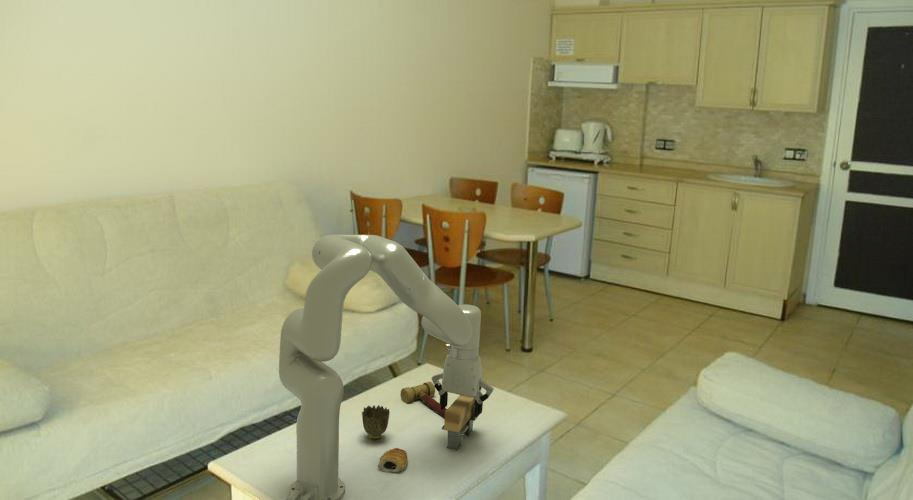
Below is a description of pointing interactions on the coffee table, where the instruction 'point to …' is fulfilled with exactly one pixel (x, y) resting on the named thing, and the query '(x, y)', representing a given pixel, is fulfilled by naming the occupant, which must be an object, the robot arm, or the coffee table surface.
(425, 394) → the gavel
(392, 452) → the pastry
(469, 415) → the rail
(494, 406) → the coffee table surface
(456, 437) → the grey tabbed slab
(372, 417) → the cup
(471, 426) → the cup bracket
